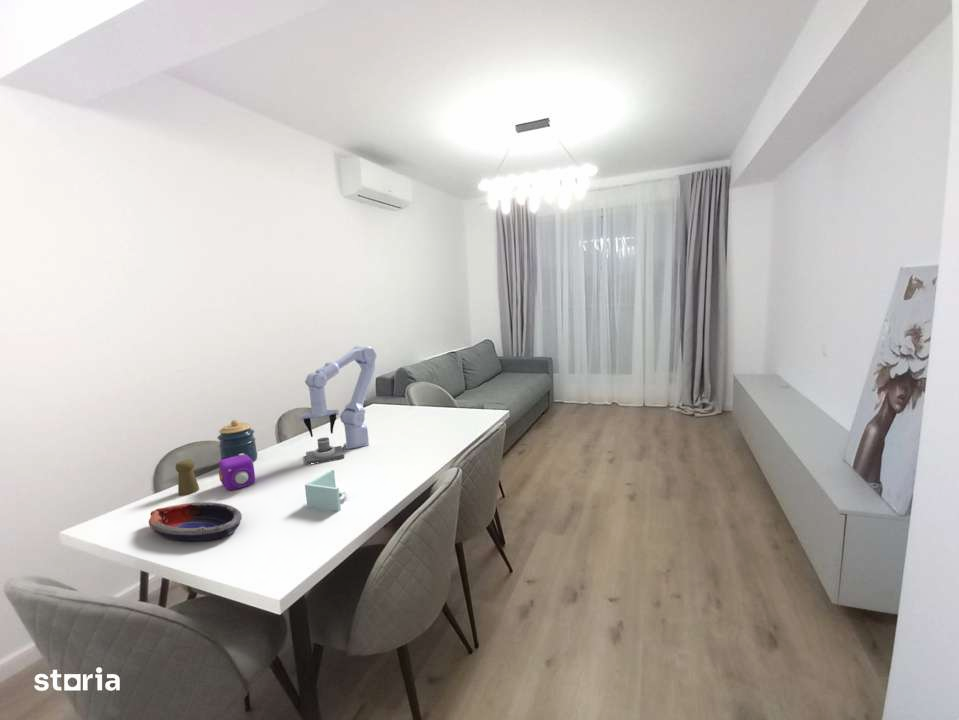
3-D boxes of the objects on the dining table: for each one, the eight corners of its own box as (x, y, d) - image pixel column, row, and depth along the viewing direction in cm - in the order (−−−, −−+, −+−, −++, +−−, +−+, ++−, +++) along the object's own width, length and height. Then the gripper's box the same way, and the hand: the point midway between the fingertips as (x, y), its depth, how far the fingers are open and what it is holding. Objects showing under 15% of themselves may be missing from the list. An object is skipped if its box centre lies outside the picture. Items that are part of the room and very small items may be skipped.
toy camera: (232, 496, 137) (228, 468, 135) (215, 487, 145) (211, 460, 144) (265, 484, 145) (261, 457, 144) (247, 476, 154) (244, 450, 152)
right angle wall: (339, 512, 123) (336, 489, 122) (307, 507, 127) (304, 484, 126) (363, 494, 134) (361, 473, 133) (333, 490, 139) (331, 469, 138)
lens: (330, 450, 172) (328, 436, 171) (330, 453, 168) (329, 439, 167) (318, 452, 170) (317, 438, 169) (319, 456, 166) (317, 441, 165)
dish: (208, 553, 105) (206, 535, 104) (130, 536, 116) (127, 519, 115) (259, 522, 119) (257, 506, 119) (186, 509, 130) (183, 494, 129)
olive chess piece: (197, 486, 147) (192, 456, 145) (201, 490, 142) (196, 460, 141) (176, 492, 143) (171, 461, 141) (179, 497, 138) (174, 466, 137)
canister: (242, 468, 161) (236, 425, 158) (213, 467, 163) (207, 424, 161) (264, 456, 174) (259, 415, 171) (238, 455, 176) (232, 415, 174)
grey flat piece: (341, 449, 178) (340, 442, 177) (344, 458, 167) (343, 451, 166) (306, 455, 172) (305, 448, 172) (307, 465, 161) (306, 457, 161)
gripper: (299, 406, 160) (302, 440, 162) (338, 401, 166) (341, 434, 168) (298, 403, 166) (302, 435, 168) (336, 398, 172) (339, 429, 174)
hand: (321, 434), depth 168 cm, fingers open, 7 cm apart
